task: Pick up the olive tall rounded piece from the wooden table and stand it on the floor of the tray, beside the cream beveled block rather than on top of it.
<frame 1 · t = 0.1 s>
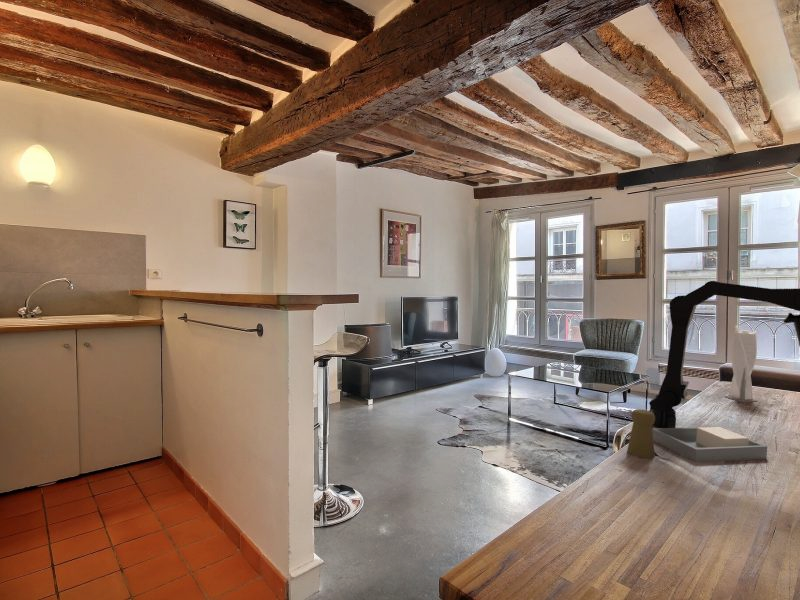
skyscraper: (739, 399, 164), on the table
tray: (705, 452, 110), on the table
cream beveled block: (721, 447, 110), point 1 cm above the table, touching tray
olive tall rounded piece: (640, 454, 108), on the table
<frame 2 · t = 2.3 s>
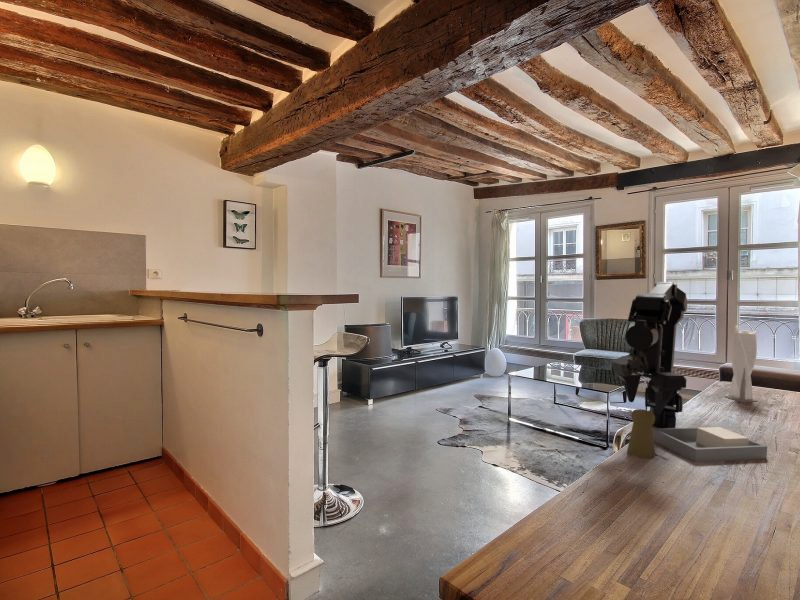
hand: (644, 407, 107), 12 cm above the table, tool pointing down, fingers open, 9 cm apart
nothing on the table moved.
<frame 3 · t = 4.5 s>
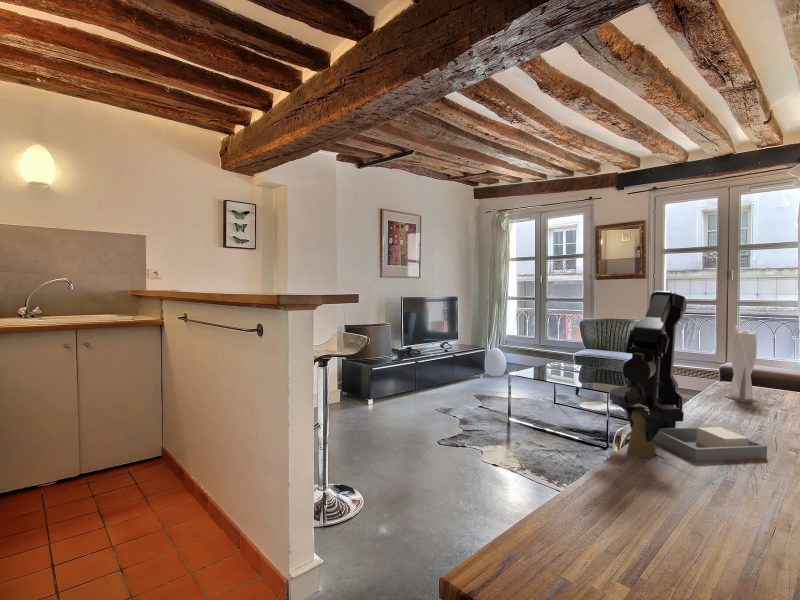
hand: (641, 437, 107), 4 cm above the table, tool pointing down, fingers closed on olive tall rounded piece, 4 cm apart
olive tall rounded piece: (640, 454, 108), on the table, touching gripper
everything else where it was.
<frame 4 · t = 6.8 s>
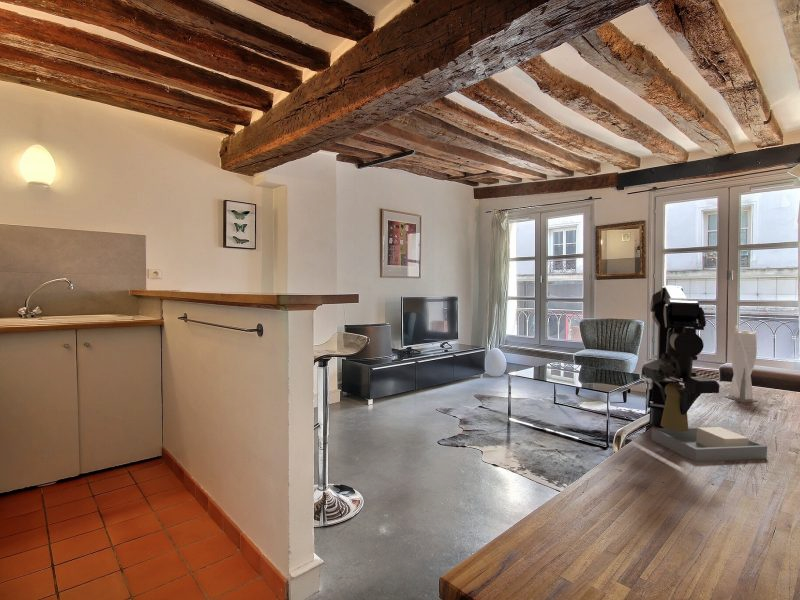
hand: (675, 411, 108), 11 cm above the table, tool pointing down, fingers closed on olive tall rounded piece, 4 cm apart
olive tall rounded piece: (674, 427, 108), point 6 cm above the table, touching gripper
everything else where it was.
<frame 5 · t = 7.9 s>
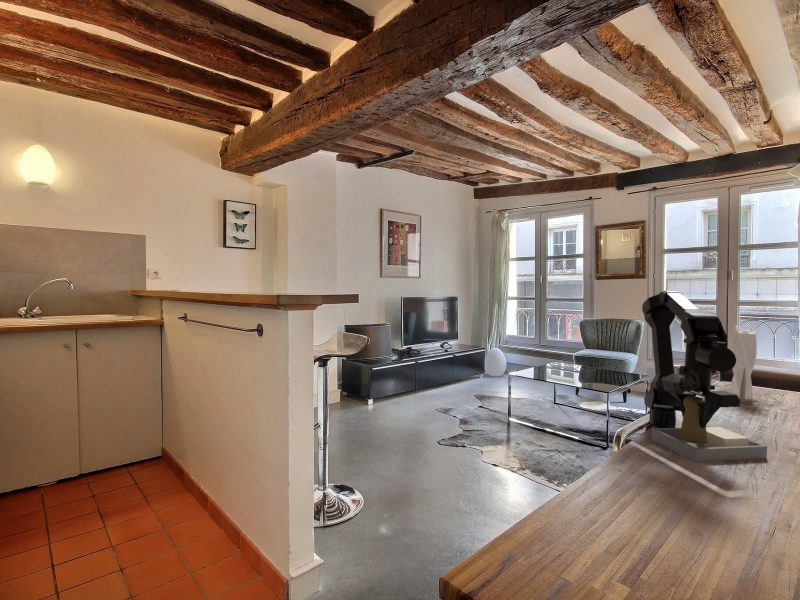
hand: (693, 424, 109), 7 cm above the table, tool pointing down, fingers closed on olive tall rounded piece, 4 cm apart
olive tall rounded piece: (692, 440, 109), point 3 cm above the table, touching gripper
everything else where it was.
when the fingers open (6 cm above the table, at t = 8.9 s): olive tall rounded piece stays where it is, resting on tray.
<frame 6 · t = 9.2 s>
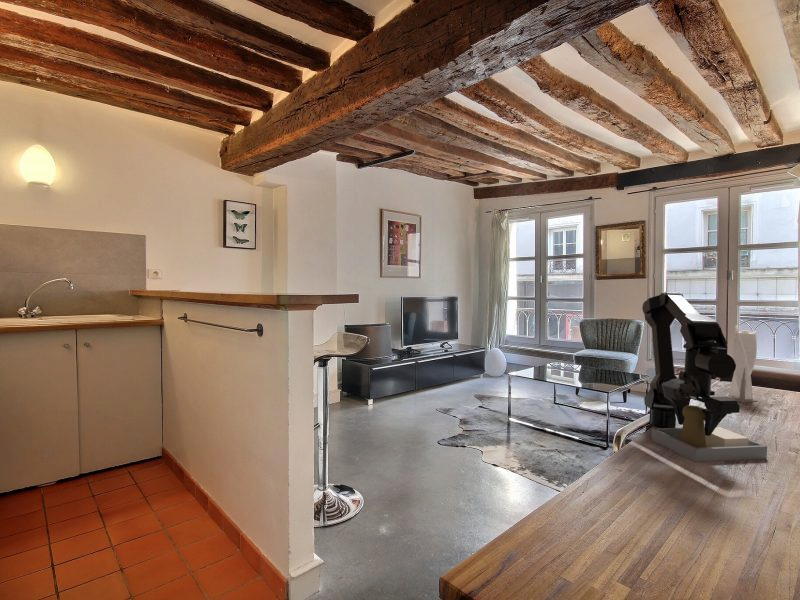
hand: (693, 429, 109), 6 cm above the table, tool pointing down, fingers open, 8 cm apart
olive tall rounded piece: (692, 449, 109), point 1 cm above the table, touching tray
everything else where it was.
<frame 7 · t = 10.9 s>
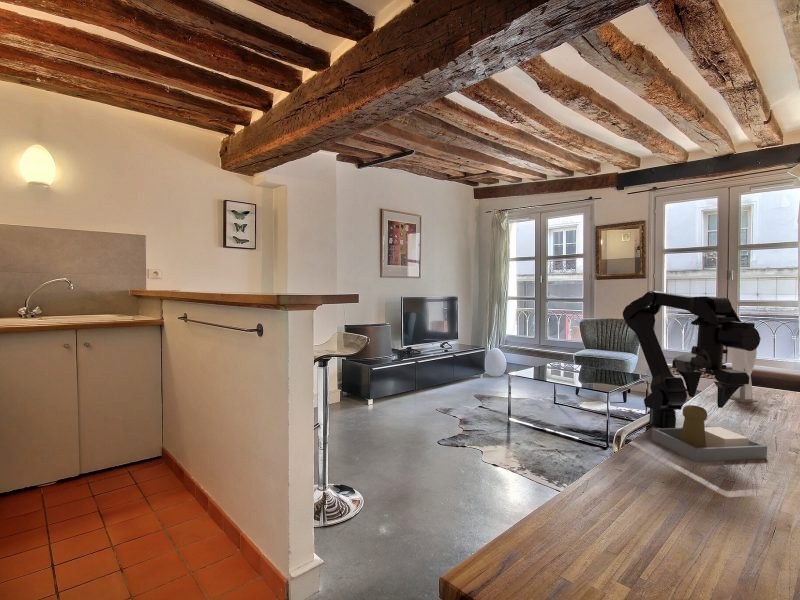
hand: (705, 402, 113), 12 cm above the table, tool pointing down, fingers open, 9 cm apart
nothing on the table moved.
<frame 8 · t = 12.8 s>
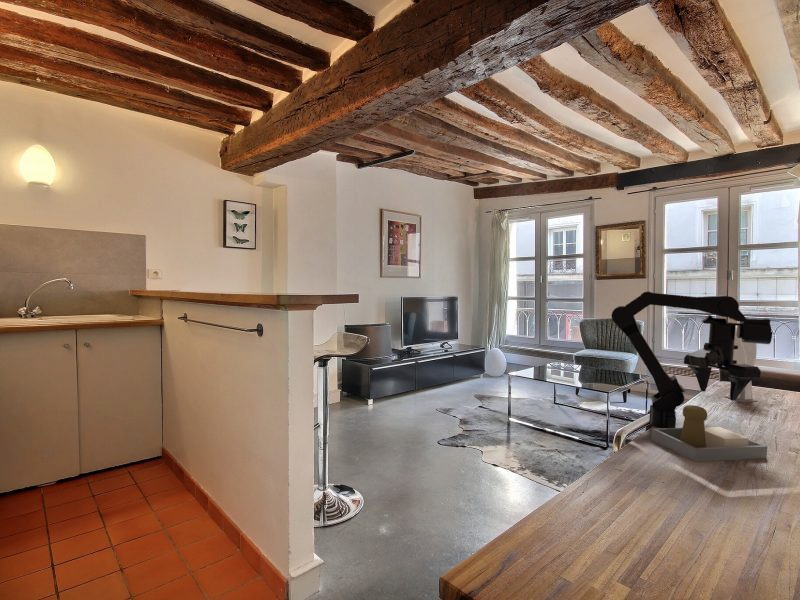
hand: (717, 395, 120), 12 cm above the table, tool pointing down, fingers open, 9 cm apart
nothing on the table moved.
at the end: olive tall rounded piece inside the target area (0.3 cm from its centre), point 0.8 cm above the table; olive tall rounded piece tilted 0°; cream beveled block moved 0.0 cm from its start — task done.
